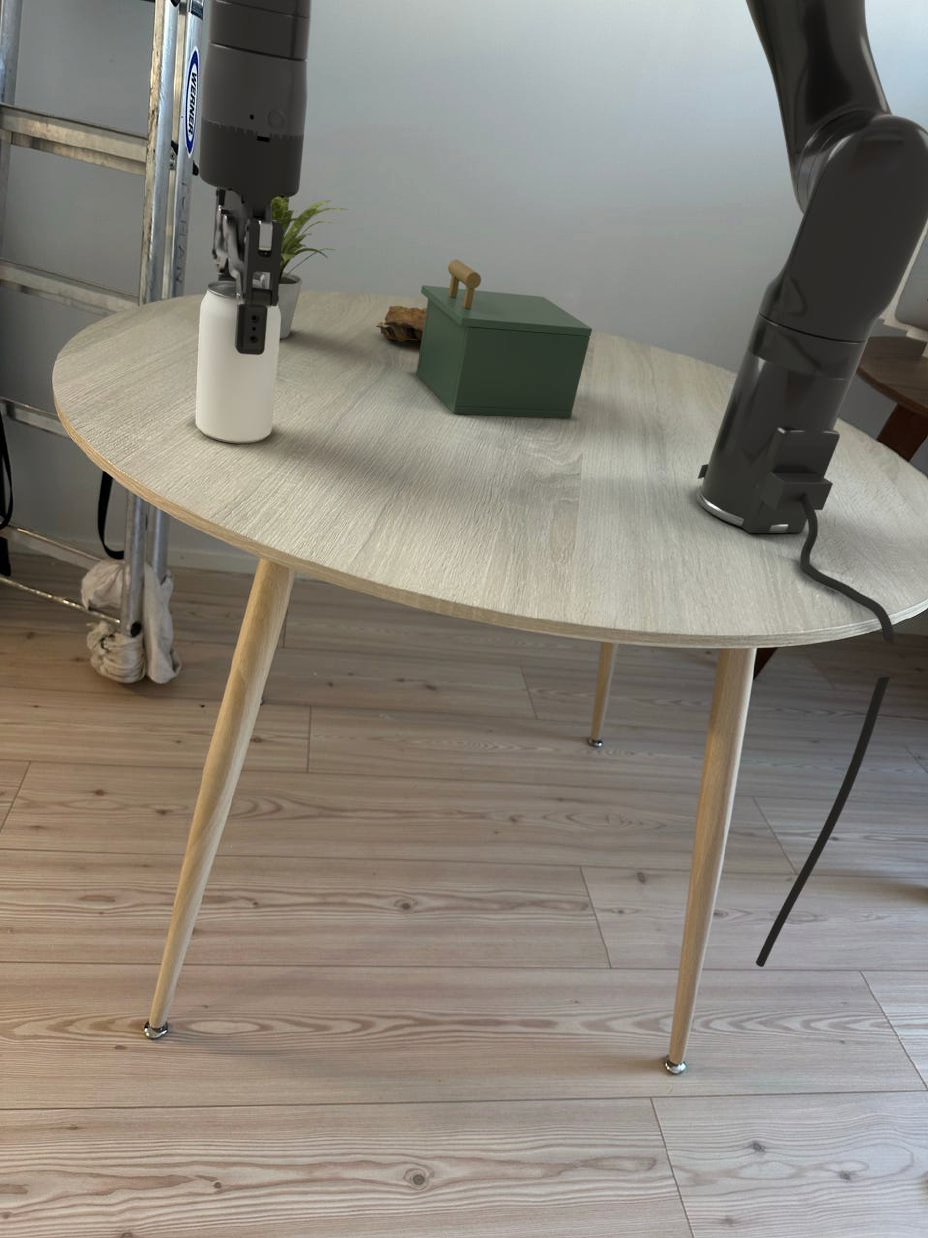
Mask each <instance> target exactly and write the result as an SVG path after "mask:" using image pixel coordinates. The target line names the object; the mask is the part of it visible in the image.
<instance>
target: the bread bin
mask: <svg viewBox="0 0 928 1238" xmlns="http://www.w3.org/2000/svg"><path fill="white" fill-rule="evenodd" d="M426 308H427V309H426V315H425V322H424V328H423V334H422V340H420V341H421V342H420V347H419V354H418V360H417V366H416V372H415V375H416V377H418V378H419V380H421V381H422V383H423V384H424V385H425V386H426V387H427V388H428V389H429V390H430V391H431V392H432V393H433V394H434V395H435V396H436V397H437V398H438V399H439V400H440V402H442V403H443V405H444V406H445V407H447V409H448V410H449V411H450V412H451V413H452V414H453V415H477V416H498V417H499V416H501V417H505V416H506V417H525V418H526V417H527V418H547V419H548V418H549V419H550V418H551V419H552V418H553V419H571V417H572V411H573V408H574V405H575V401H576V397H577V393H578V389H579V383H580V379H581V377H582V372H583V367H584V363H585V359H586V356H587V352H588V347H589V344H590V343H589V342H590V339H591V336H581V335H568V334H555V333H543V332H530V331H518V330H505V329H493V328H480V327H468V326H460V325H459V324H458V323H457V322H456V321H454V320H453V319H452V318H451V317H450V316H448V315H447V314H446V313H445V312H444V311H442V310H441V309H440V308H439V307H438V306H436V305H435V304H434V303H433V302H432V301H430V300H429V299H428V298H427V303H426Z"/></svg>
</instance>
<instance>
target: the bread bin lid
mask: <svg viewBox="0 0 928 1238" xmlns="http://www.w3.org/2000/svg"><path fill="white" fill-rule="evenodd" d="M447 271H448V273H449V274H450V275H451V278H450V283H449V287H446V286H445V287H444V286H436V285H435V286H434V285H425V284H422V285H421V290H420V293H421V294H422V295H423V296H424V297H426V298H427V300H428V299H429V300H430V301H432V302H433V303H434V304H435V305H436V306H438V307H439V308H440V309H441V310H442V311H444V312H445V313H446V314H447V315H448V316H450V317H451V318H452V319H453V320H454V321H456V322H457V323H458V324H459V325H460V326H468V327H480V328H493V329H505V330H518V331H530V332H543V333H555V334H568V335H581V336H589V337H591V335H592V332H593V328H592V327H590V326H588V325H587V324H586V323H584V322H583V321H581V320H579V319H578V318H577V317H575V316H574V315H572V314H570V313H568V311H566V310H564V309H563V308H561V307H560V306H559V305H557V304H555V303H554V302H553V301H550V299H547V298H546V297H544V296H538V295H529V294H518V293H508V292H496V291H486V290H476V289H477V288H478V287H479V286H480V285H481V283H482V277H481V275H480V274H479V273H478V272H477V271H475V270H474V269H473V268H471V267H470V266H468V265H467V264H465V263H464V262H463V261H462V260H459V259H453V260H451V261H450V262H449V264H448V267H447ZM460 283H462V284H463V285H464V286H465V288H459V286H460Z"/></svg>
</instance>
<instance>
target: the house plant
mask: <svg viewBox="0 0 928 1238" xmlns="http://www.w3.org/2000/svg"><path fill="white" fill-rule="evenodd" d="M329 202H330V203H331V200H323V201H318V202H316V203H313V204H312V205H310V206H308V208H306V209H305V210H304V211H303V212H302V213H300V215H298V217H294V218H293V215H294V212H297V213H298V212H299V210H297V209H294V210H292V209H290V197H287V198H281V197H276V198H274V199H273V200H272V203H271V207H272V220H275V221H276V222H277V223H282V227H283V230H284V233H283V236H282V249H281V263H280V277H279V290H278V295H279V301H278V303H277V305H278V307H279V310H280V313H281V325H280V338H279V339H285V338H288V337H289V335H290V332H291V328H292V324H293V319H294V317H295V312H296V308H297V304H298V301H299V297H300V293H301V288H302V285H303V279H302V278H301V277H300V276H298V275H296V274H294V273H291V272H292V271H293V270H295V269H296V268H297V267H298V266H299V265H301V264H302V263H303V262H305V261H307V260H308V259H309V258H310V257H312V256H313V255H316V254H317V253H318V254H321V255H322V256H323V257H325V258H326V259H328V256H327V255H326V254H324V253H323V252H322V251H335V249H333V248H322V249H319V250H318V249H317V248H312V247H311V248H310V247H307V246H306V244H302V243H301V242H302V241H303V240H304V239H305V238H306V237H308V236H312V233H306V232H307V230H309V229H310V228H311V227H313V226H315V225H318V224H322V223H323V224H325V223H326V224H332V222H330V221H326V220H318V221H316V222H314V223H312V224H310V225H308V227H306V229H305V230H304V231H303V232H302V233H301V234H300V235H299V233H300V232H301V230H302V229H303V227H304V226H305V225H306V224H307V223H308V221H310V220H311V219H312V218H313V217H315V216H317V215H318V214H320V213H323V212H325V211H329V210H339V211H340V210H345V211H347V210H348V209H347V208H342V207H326V208H321V209H319V208H320V207H321V206H322V205H325V204H328V203H329ZM292 222H293V223H292ZM291 223H292V225H291ZM290 225H291V226H290ZM289 227H290V228H289ZM287 230H288V231H287ZM298 235H299V236H298ZM303 247H304V248H303ZM304 252H305V253H306V252H313V253H311V254H310V255H308V257H306V258H304V260H302V261H301V262H299V263H298V264H296V265H295V266H294V267H292V269H291V270H290V271H286V270H285V268H286V267H287V266H288V264H289V263H290V261H291V260H293V259H294V258H295V257H296V256H298V255H299V254H301V253H304ZM253 284H256V285H260V286H262V283H261V281H260V280H259V279H253Z"/></svg>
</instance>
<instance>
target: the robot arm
mask: <svg viewBox="0 0 928 1238" xmlns="http://www.w3.org/2000/svg"><path fill="white" fill-rule="evenodd" d="M745 3H746V6H747V8H748V12H749V14H750V15H749V16H750V18H751V20H752V23H753V27H754V28H755V32H756V33H757V37H758V41H759V42H760V45H761V47H762V50H763V53H764V55H765V58H766V61H767V63H768V67H769V69H770V73H771V77H772V82H773V84H774V90H775V93H776V98H777V103H778V109H779V114H780V115H779V116H780V121H781V124H782V130H783V137H784V142H785V148H786V153H787V160H788V167H789V173H790V179H791V185H792V191H793V194H794V198H795V202H796V204H797V206H798V208H799V210H800V212H801V214H802V218H801V221H800V224H799V227H798V229H797V232H796V234H795V239H794V241H793V243H792V246H791V249H790V252H789V254H788V257H787V259H786V261H785V263H784V264H783V266H782V267H781V269H780V271H779V272H778V273H777V274H776V275H775V276H773V277H772V278H770V280H769V281H768V283H767V285H766V287H765V289H764V292H763V296H762V298H761V302H760V305H759V308H758V312H757V314H756V317H755V319H754V323H753V327H752V330H751V332H750V334H749V339H748V342H747V344H746V347H745V350H744V353H743V355H742V360H741V362H740V366H739V368H738V372H737V374H736V377H735V381H734V384H733V388H732V390H731V393H730V396H729V399H728V401H727V404H726V407H725V410H724V413H723V417H722V420H721V423H720V426H719V430H718V432H717V436H716V438H715V442H714V445H713V447H712V451H711V453H710V457H709V461H708V463H707V464H706V463H705V464H701V467H700V469H699V474H698V476H697V479H699V480H700V479H702V481H701V484H700V486H699V487H698V490H697V494H696V500H697V502H698V503H699V505H700V506H701V507H702V508H704V510H706V511H707V512H709V513H710V514H712V515H713V516H715V517H717V518H718V519H720V520H722V521H724V522H727V523H730V524H732V525H734V526H737V527H740V528H742V529H743V530H744V531H746V532H747V533H750V534H776V533H777V534H782V533H784V534H785V533H787V534H788V533H803V532H804V529H805V527H806V524H807V523H808V525H807V526H808V531H807V536H806V540H805V541H804V543H803V546H802V548H801V551H800V558H799V559H800V561H799V565H800V569H801V570H802V571H803V572H804V573H805V574H806V575H807V576H808V577H809V578H810V579H812V580H814V581H815V582H817V583H819V584H821V585H823V586H825V587H828V588H830V589H832V590H834V591H837V592H839V593H840V594H842V595H844V596H845V597H847V598H849V599H850V600H852V601H853V602H855V603H857V604H859V605H860V606H862V607H864V608H866V609H867V610H869V611H871V612H872V614H874V615H875V617H877V620H878V622H879V624H880V628H881V630H882V631H881V632H882V635H883V640H884V641H885V642H886V643H887V644H889V645H893V646H895V645H896V636H895V635H896V634H895V631H894V626H893V623H892V620H891V618H890V616H889V614H888V613H887V611H886V609H885V608H884V607H883V606H882V605H881V604H880V603H879V602H877V601H876V600H874V599H872V598H871V597H868V596H867V595H865V594H863V593H861V592H859V591H858V590H856V589H854V588H853V587H851V586H850V585H848V584H846V583H844V582H842V581H841V580H838V579H835V578H834V577H831V576H828V575H826V574H824V573H823V572H821V571H819V570H818V569H817V568H816V567H814V566H813V565H812V564H811V562H810V561H811V553H812V550H813V548H814V545H815V543H816V540H817V538H818V532H819V522H818V517H817V516H818V515H817V513H816V511H823V510H824V507H825V505H826V502H827V500H828V497H829V495H830V492H831V490H832V487H833V484H834V483H833V482H832V481H830V480H829V479H827V478H825V476H826V474H827V471H828V468H829V466H830V463H831V461H832V458H833V456H834V453H835V451H836V449H837V446H838V443H839V440H840V438H841V435H840V432H839V431H837V430H836V429H835V426H836V423H837V421H838V418H839V416H840V413H841V410H842V408H843V405H844V403H845V400H846V397H847V396H848V392H849V390H850V387H851V384H852V383H853V379H854V377H855V375H856V372H857V370H858V367H859V364H860V362H861V359H862V357H863V354H864V351H865V350H866V349H865V348H866V346H867V344H868V340H869V338H870V337H871V333H872V331H873V329H874V326H876V325H875V324H876V323H877V321H878V320H879V319H880V317H881V316H882V315H883V314H884V313H885V311H886V310H887V309H888V307H889V306H890V305H891V304H892V302H893V300H894V298H895V297H896V294H897V293H898V290H899V288H900V287H901V284H902V281H903V279H904V276H905V274H906V272H907V269H908V268H909V265H910V263H911V261H912V257H913V256H914V253H915V252H916V249H917V246H918V244H919V242H920V240H921V237H922V235H923V232H924V230H925V228H926V226H927V223H928V130H927V129H926V128H924V127H923V126H921V125H920V124H919V123H918V122H915V121H913V120H911V119H909V118H906V117H903V116H899V115H896V114H893V112H892V110H891V107H890V105H889V103H888V100H887V97H886V94H885V91H884V87H883V85H882V82H881V79H880V76H879V75H880V74H879V72H878V69H877V66H876V65H877V64H876V62H875V59H874V54H873V51H872V47H871V44H870V39H869V32H868V26H867V18H866V17H867V16H866V0H745ZM312 6H313V0H209V18H208V19H209V20H208V21H209V22H208V42H207V50H206V58H205V61H204V62H205V63H204V69H203V74H202V75H203V77H202V88H201V89H202V92H201V112H200V113H201V114H200V115H201V116H200V137H199V138H200V139H199V140H200V141H199V160H198V161H199V162H198V174H199V177H200V179H201V180H202V181H204V183H206V184H208V185H209V186H212V187H213V188H216V189H215V191H214V192H215V194H214V195H215V197H216V198H215V208H214V209H215V211H214V226H213V243H212V248H211V255H212V258H213V260H215V262H214V267H215V269H216V271H215V272H216V274H218V275H217V277H218V278H217V281H236V285H237V295H236V299H237V301H238V305H237V320H236V335H235V348H236V349H237V351H238V352H239V353H241V354H251V355H260V354H262V353H263V352H264V349H265V337H266V324H267V312H268V308H271V306H277V303H278V301H279V295H278V290H279V277H280V263H281V249H282V236H283V233H284V230H283V227H282V223H277V222H276V221H275V220H272V207H271V203H272V200H273V199H274V198H276V197H281V198H287V197H289V198H291V197H295V196H296V195H297V194H298V192H299V190H300V185H301V173H302V162H303V153H304V142H305V141H304V139H305V127H306V116H307V105H308V61H307V60H308V57H309V45H310V36H311V26H312V25H311V23H312ZM253 279H259V280H260V281H261V283H262V288H252V286H253ZM890 679H891V676H882V677H878V678H877V681H876V684H875V687H874V690H873V692H872V696H871V698H870V702H869V706H868V709H867V712H866V715H865V719H864V722H863V726H862V728H861V731H860V734H859V737H858V741H857V742H856V743H857V744H856V746H855V749H854V752H853V755H852V758H851V761H850V764H849V765H848V768H847V771H846V774H845V776H844V779H843V781H842V784H841V787H840V788H839V791H838V794H837V796H836V798H835V801H834V803H833V805H832V807H831V810H830V812H829V814H828V816H827V818H826V820H825V821H824V822H825V823H824V824H823V827H822V829H821V831H820V833H819V835H818V836H817V839H816V841H815V843H814V845H813V847H812V849H811V851H810V853H809V855H808V856H807V859H806V861H805V862H804V864H803V866H802V868H801V870H800V872H799V873H798V876H797V878H796V880H795V881H794V883H793V886H792V888H791V890H790V891H789V893H788V895H787V897H786V899H785V900H784V903H783V904H782V906H781V908H780V911H779V912H778V915H777V916H776V918H775V920H774V922H773V924H772V927H771V928H770V931H769V932H768V935H767V937H766V939H765V941H764V943H763V946H762V947H761V950H760V952H759V954H758V956H757V959H756V961H755V965H756V966H758V967H760V968H763V967H765V964H766V962H767V961H768V958H769V956H770V953H771V952H772V949H773V947H774V945H775V943H776V941H777V939H778V937H779V935H780V933H781V931H782V929H783V927H784V925H785V923H786V921H787V919H788V917H789V915H790V914H791V912H792V909H793V907H794V905H795V904H796V902H797V900H798V899H799V896H800V894H801V892H802V890H803V889H804V887H805V884H806V883H807V881H808V879H809V878H810V875H811V874H812V871H813V870H814V868H815V866H816V864H817V862H818V860H819V859H820V857H821V855H822V853H823V851H824V849H825V847H826V845H827V843H828V841H829V839H830V837H831V835H832V833H833V831H834V828H835V826H836V824H837V823H838V820H839V818H840V816H841V814H842V812H843V809H844V807H845V806H846V803H847V800H848V798H849V795H850V793H851V792H852V789H853V787H854V785H855V782H856V779H857V775H858V773H859V771H860V768H861V765H862V763H863V761H864V759H865V755H866V752H867V749H868V747H869V743H870V741H871V737H872V734H873V732H874V728H875V725H876V722H877V719H878V716H879V713H880V710H881V706H882V702H883V699H884V696H885V693H886V690H887V688H888V684H889V682H890Z"/></svg>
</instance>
